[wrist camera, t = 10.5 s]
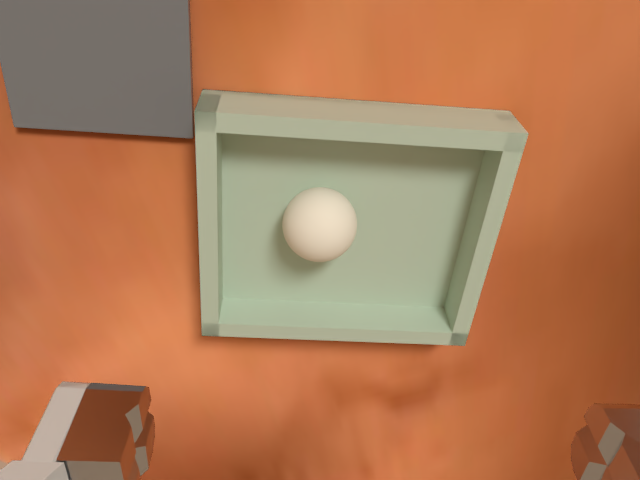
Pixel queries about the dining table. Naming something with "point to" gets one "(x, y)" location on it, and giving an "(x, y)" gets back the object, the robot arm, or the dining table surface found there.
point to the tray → (369, 205)
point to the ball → (319, 224)
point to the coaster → (99, 65)
